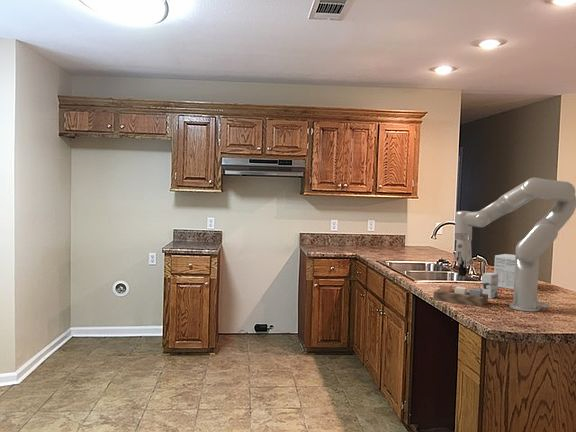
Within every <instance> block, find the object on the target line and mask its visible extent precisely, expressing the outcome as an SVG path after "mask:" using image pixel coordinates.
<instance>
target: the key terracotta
mask: <svg viewBox="0 0 576 432" xmlns="http://www.w3.org/2000/svg"><path fill="white" fill-rule="evenodd" d="M453 288H454V287H453V284H447V283H442V284H440V285H439V289H440V291H443V292H452V289H453Z"/></svg>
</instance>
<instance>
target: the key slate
mask: <svg viewBox="0 0 576 432" xmlns="http://www.w3.org/2000/svg"><path fill="white" fill-rule="evenodd" d="M469 292H470V295H471V296H478V297H481V296H482V294H483V289H482V288H475V287H474V288H473V287H472V288H470V289H469Z"/></svg>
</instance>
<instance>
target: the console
mask: <svg viewBox="0 0 576 432" xmlns="http://www.w3.org/2000/svg"><path fill="white" fill-rule="evenodd" d="M454 291H455V288H454V289H452V292H443V291H440V288H438V289H436V290H434V291H433V298H432V299H433V301H440V302H445V303H451V304H458V305H465V306H470V305H471V306H472V307H477V306H478V307H477V308H482V307H484V306H485V305H487V304H488V303H489V298H488V294H482V296H481V297H478V296H471V295H470V291H468V290H467V294H465V295H464V294H457V293H454ZM483 305H484V306H483Z"/></svg>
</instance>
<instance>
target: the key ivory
mask: <svg viewBox="0 0 576 432" xmlns="http://www.w3.org/2000/svg"><path fill="white" fill-rule="evenodd" d="M454 290H455V291H454V293H457V294H464V295H465V294H467V291H468V287H465V286H464V287H463V286H455V287H454Z"/></svg>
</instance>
